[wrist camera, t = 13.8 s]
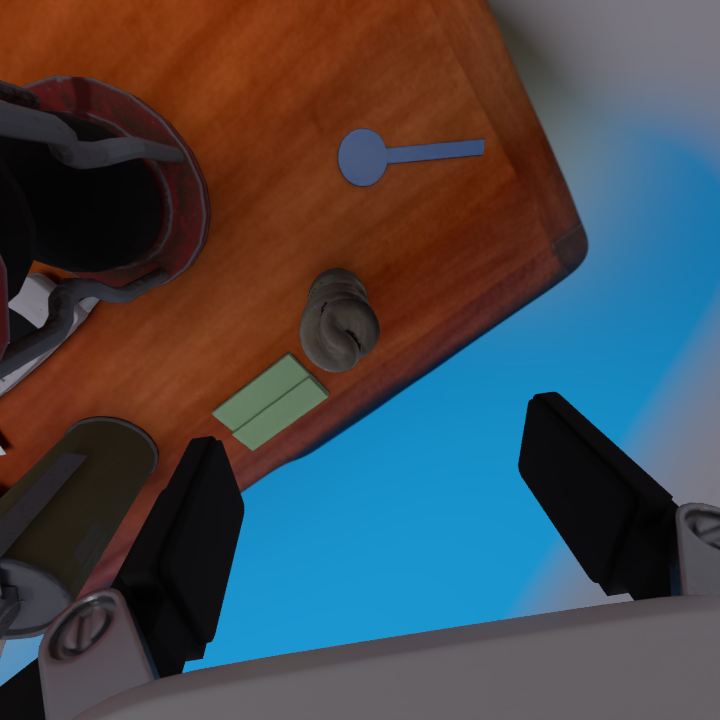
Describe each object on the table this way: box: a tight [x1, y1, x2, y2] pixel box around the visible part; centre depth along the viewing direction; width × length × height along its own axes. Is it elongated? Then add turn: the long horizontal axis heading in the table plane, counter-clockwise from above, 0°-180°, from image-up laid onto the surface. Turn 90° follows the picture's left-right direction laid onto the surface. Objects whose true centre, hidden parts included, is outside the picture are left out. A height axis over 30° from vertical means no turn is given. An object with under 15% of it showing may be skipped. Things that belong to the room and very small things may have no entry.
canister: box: [0, 417, 159, 640], centre depth 33 cm, size 11×10×20 cm
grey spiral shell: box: [299, 268, 380, 373], centre depth 29 cm, size 6×6×15 cm
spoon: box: [338, 129, 484, 186], centre depth 31 cm, size 13×4×1 cm, turn 95°
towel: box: [212, 352, 329, 451], centre depth 41 cm, size 12×7×1 cm, turn 127°
